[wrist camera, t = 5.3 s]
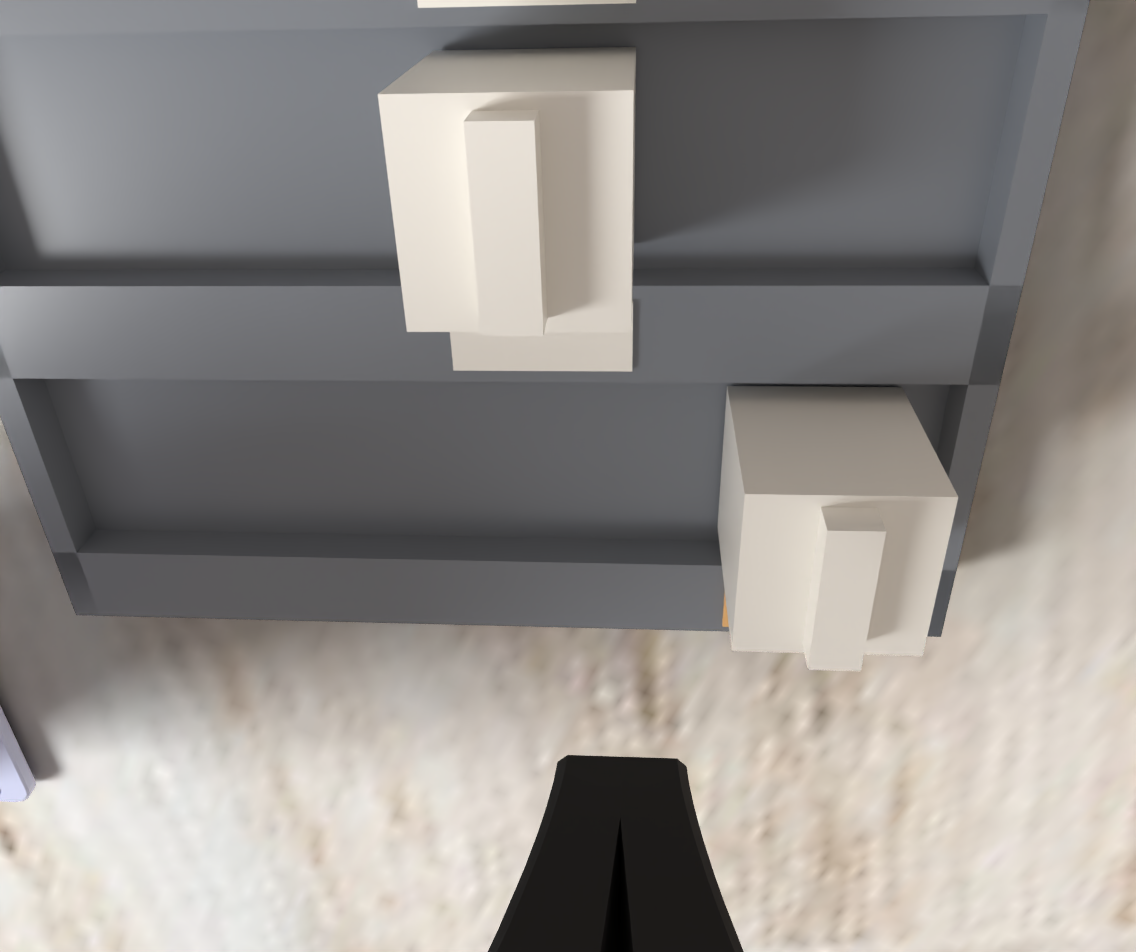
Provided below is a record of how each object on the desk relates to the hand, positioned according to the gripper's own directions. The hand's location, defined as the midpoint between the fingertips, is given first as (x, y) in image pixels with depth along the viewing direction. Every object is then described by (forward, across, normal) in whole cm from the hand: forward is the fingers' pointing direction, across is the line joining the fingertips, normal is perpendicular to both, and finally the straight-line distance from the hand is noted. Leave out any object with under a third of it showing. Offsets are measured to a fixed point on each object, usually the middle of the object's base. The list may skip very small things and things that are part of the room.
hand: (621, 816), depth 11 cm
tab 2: (+8, -3, 0) cm, 9 cm away
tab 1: (+8, +1, -6) cm, 10 cm away
